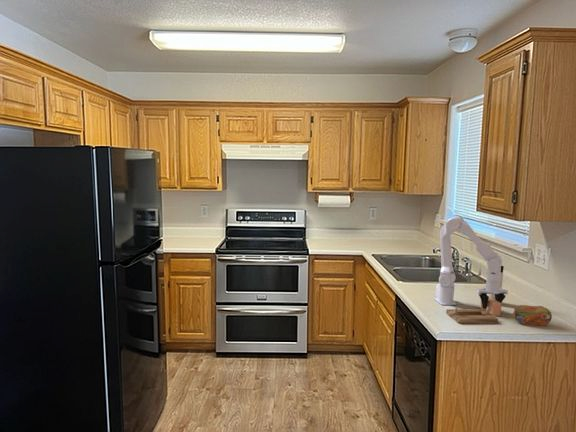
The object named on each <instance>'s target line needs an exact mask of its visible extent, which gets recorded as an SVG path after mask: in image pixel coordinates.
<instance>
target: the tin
mask: <svg viewBox="0 0 576 432" xmlns="http://www.w3.org/2000/svg"><path fill="white" fill-rule="evenodd" d="M513 318H514V320H516V321H517V323H519V324H521V325H525V326H538V325H539V327H540V326H542V327H543V326H546V325H549V324H550V323H551V321H552V318H553V315H552V312H551V311H550V309H548V308H547V307H544V306H542V305H530V304H529V305H528V304H520V305H517V306H516V307H515V308H514V310H513Z"/></svg>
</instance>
